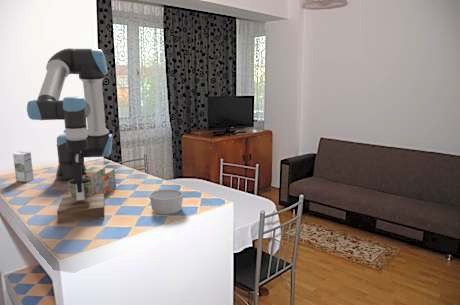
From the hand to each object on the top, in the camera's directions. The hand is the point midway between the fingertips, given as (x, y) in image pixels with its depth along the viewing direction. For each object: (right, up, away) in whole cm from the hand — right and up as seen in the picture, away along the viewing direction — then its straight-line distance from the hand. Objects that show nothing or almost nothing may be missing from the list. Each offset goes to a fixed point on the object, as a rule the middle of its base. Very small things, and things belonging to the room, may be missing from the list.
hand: (81, 195), depth 141 cm
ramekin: (+32, -7, +6) cm, 33 cm away
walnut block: (0, -8, +2) cm, 8 cm away
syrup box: (-45, +2, +42) cm, 61 cm away
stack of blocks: (-2, -2, +24) cm, 24 cm away
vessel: (0, -1, 0) cm, 1 cm away
